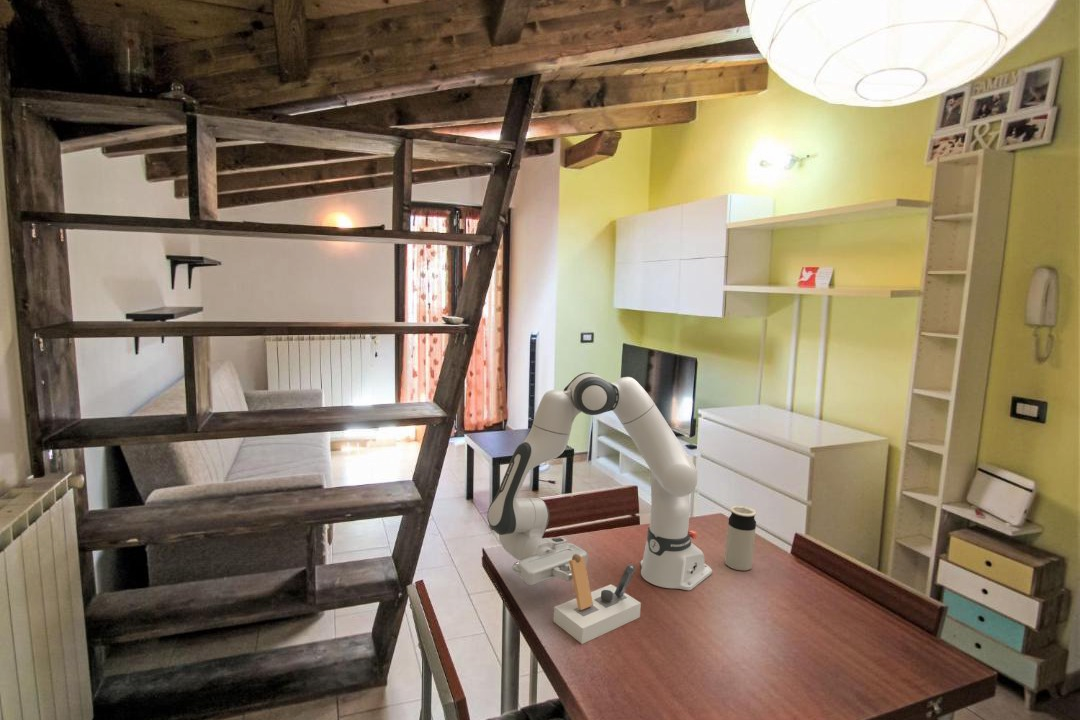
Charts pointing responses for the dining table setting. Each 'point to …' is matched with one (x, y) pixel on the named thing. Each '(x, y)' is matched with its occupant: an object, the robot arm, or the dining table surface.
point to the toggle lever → (624, 580)
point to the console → (596, 615)
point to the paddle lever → (580, 582)
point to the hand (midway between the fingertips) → (572, 577)
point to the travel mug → (740, 538)
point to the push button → (606, 595)
